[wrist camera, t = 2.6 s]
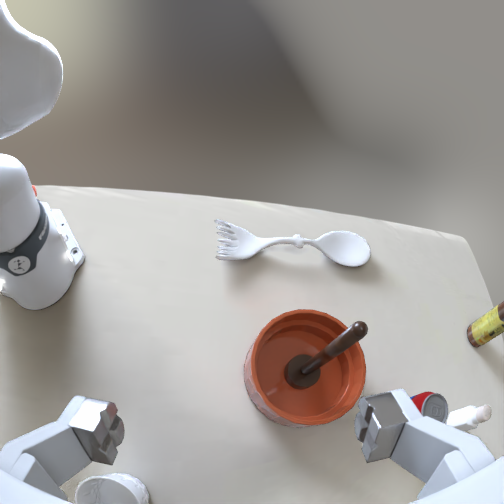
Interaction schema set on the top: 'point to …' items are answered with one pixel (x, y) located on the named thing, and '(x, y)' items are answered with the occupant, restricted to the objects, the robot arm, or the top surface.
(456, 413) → the pepper shaker
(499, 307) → the sauce bottle
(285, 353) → the bowl
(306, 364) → the brown rod on stand
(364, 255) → the spoon
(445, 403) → the beverage can
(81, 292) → the top surface
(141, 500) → the white cup
